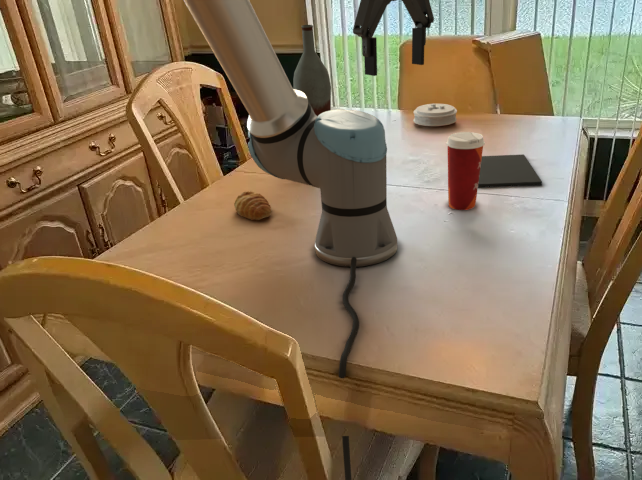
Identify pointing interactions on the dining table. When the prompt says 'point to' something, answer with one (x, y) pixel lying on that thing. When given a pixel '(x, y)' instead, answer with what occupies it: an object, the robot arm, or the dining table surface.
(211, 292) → the dining table surface
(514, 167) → the dark mat
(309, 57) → the bottle
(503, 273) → the dining table surface
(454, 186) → the paper cup
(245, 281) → the dining table surface
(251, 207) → the pastry
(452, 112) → the lid
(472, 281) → the dining table surface
